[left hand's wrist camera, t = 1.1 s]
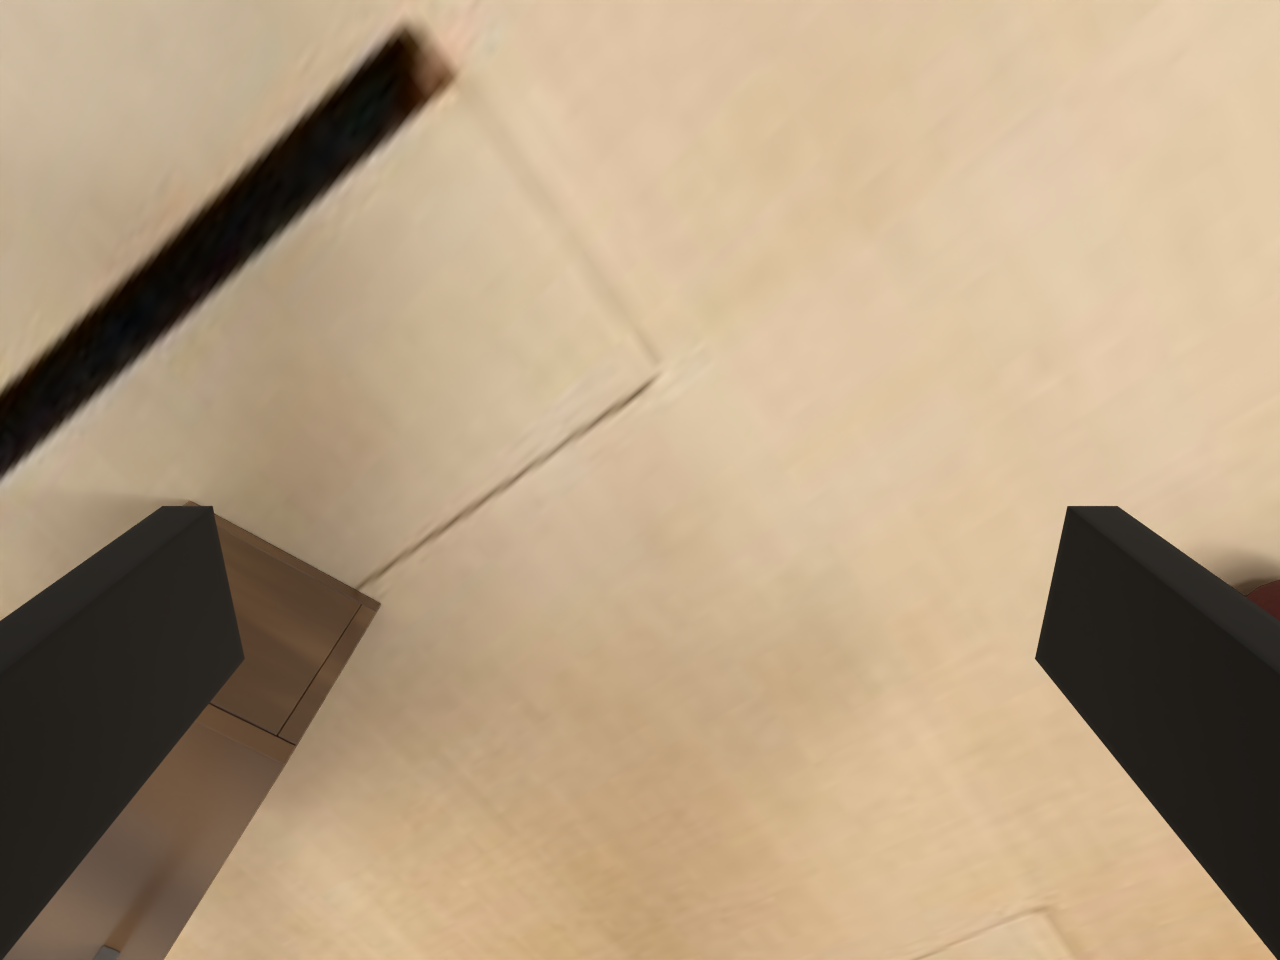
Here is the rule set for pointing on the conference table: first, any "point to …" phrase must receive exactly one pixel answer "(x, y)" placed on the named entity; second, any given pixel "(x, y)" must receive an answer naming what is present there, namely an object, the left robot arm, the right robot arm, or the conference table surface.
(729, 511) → the conference table surface
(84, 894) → the lid
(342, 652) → the chest
